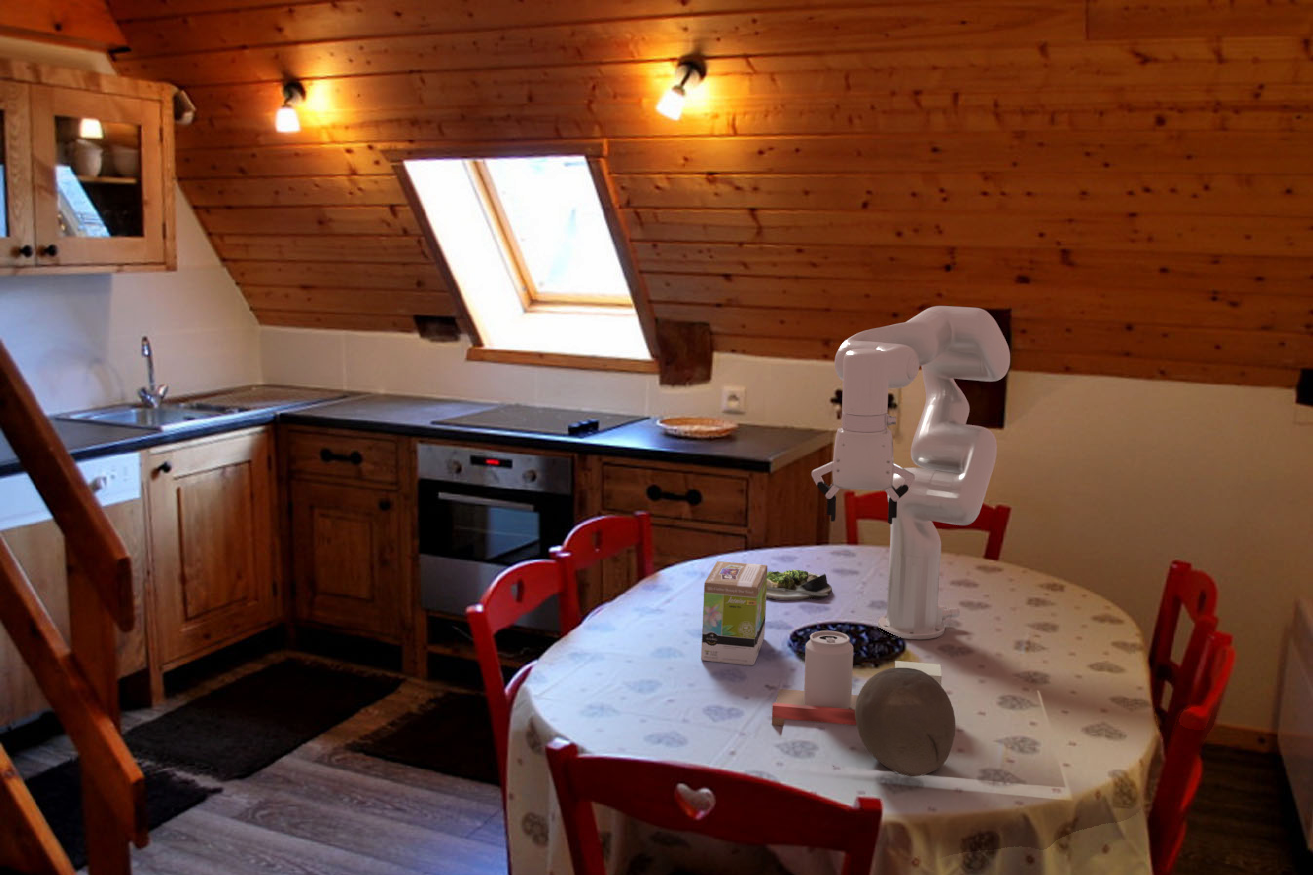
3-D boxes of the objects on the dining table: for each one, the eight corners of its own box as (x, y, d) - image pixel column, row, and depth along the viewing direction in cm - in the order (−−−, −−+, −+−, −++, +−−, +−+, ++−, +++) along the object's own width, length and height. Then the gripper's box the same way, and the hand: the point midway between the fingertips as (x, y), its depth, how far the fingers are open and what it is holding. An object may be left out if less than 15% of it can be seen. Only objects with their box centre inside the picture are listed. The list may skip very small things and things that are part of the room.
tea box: (756, 666, 215) (758, 586, 213) (699, 662, 217) (701, 582, 215) (765, 638, 230) (768, 562, 227) (713, 634, 232) (714, 558, 229)
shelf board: (939, 709, 198) (940, 690, 197) (942, 739, 186) (943, 720, 185) (778, 695, 202) (779, 677, 202) (771, 724, 191) (772, 705, 190)
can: (845, 698, 198) (848, 627, 196) (855, 716, 191) (858, 643, 189) (799, 698, 198) (802, 628, 196) (808, 717, 191) (810, 644, 188)
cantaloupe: (952, 755, 181) (957, 659, 178) (952, 799, 167) (958, 695, 165) (855, 745, 184) (860, 650, 181) (848, 787, 170) (853, 685, 168)
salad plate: (749, 606, 249) (749, 585, 248) (730, 580, 266) (730, 560, 266) (840, 603, 252) (841, 581, 251) (815, 577, 269) (816, 557, 269)
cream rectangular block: (937, 712, 193) (940, 664, 192) (938, 725, 188) (941, 676, 187) (892, 708, 195) (895, 660, 193) (892, 721, 190) (895, 672, 188)
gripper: (916, 419, 207) (912, 516, 211) (813, 416, 210) (811, 512, 214) (917, 428, 200) (913, 529, 204) (811, 425, 203) (809, 524, 207)
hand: (861, 520), depth 209 cm, fingers open, 9 cm apart
